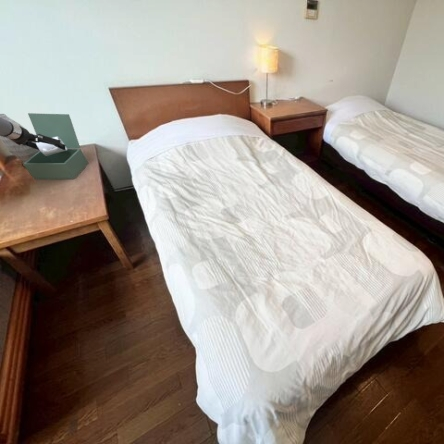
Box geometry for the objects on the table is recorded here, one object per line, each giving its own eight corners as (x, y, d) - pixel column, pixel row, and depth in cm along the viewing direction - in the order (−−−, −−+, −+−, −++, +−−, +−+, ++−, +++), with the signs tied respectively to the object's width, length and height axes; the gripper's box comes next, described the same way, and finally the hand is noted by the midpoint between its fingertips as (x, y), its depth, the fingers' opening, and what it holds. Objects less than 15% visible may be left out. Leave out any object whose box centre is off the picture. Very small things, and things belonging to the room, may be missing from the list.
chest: (74, 179, 140) (64, 163, 133) (34, 179, 137) (22, 164, 130) (88, 163, 152) (80, 148, 146) (52, 163, 149) (42, 148, 143)
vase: (47, 155, 155) (16, 109, 136) (48, 164, 148) (15, 117, 129) (20, 160, 149) (-16, 112, 130) (19, 170, 142) (-19, 120, 123)
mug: (47, 153, 141) (36, 140, 136) (67, 147, 145) (57, 134, 139) (46, 160, 133) (34, 146, 128) (67, 154, 137) (57, 140, 132)
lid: (68, 114, 137) (73, 114, 142) (27, 113, 134) (34, 113, 138) (79, 148, 145) (84, 146, 149) (41, 147, 142) (47, 146, 146)
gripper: (-17, 139, 114) (26, 153, 135) (43, 140, 118) (76, 154, 139) (-17, 123, 114) (26, 140, 135) (43, 124, 118) (75, 141, 139)
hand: (51, 147), depth 137 cm, fingers closed on mug, 12 cm apart
